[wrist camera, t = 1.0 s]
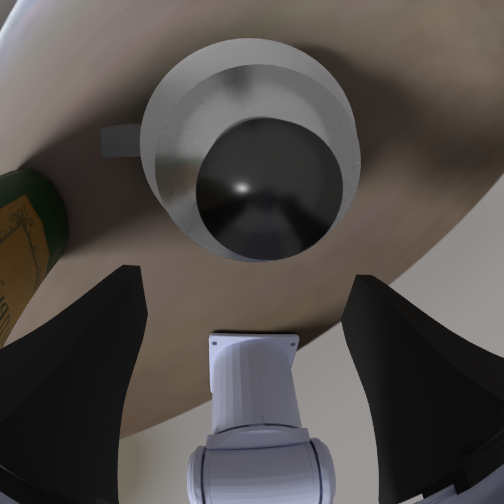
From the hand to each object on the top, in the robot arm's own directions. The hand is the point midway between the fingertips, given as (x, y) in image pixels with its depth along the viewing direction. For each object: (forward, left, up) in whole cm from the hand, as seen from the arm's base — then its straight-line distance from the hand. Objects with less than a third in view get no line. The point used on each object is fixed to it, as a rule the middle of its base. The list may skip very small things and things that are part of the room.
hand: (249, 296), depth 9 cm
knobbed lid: (+4, 0, -3) cm, 5 cm away
